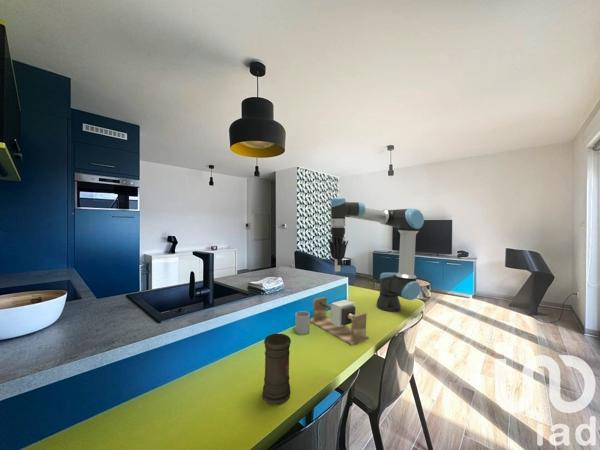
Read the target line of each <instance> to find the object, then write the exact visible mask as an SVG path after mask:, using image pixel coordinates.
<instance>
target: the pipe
mask: <svg viewBox="0 0 600 450" xmlns="http://www.w3.org/2000/svg"><path fill="white" fill-rule="evenodd" d="M320 305H321V306H323V307H325V308H326V310H330V311H331V304H330V303H325V302H322V301H321V302H320ZM352 316H353V314H352V313H347V318H348V319H351V320H352Z"/></svg>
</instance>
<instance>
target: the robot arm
mask: <svg viewBox="0 0 600 450" xmlns="http://www.w3.org/2000/svg"><path fill="white" fill-rule="evenodd" d="M330 201H331V202H330V226H331V227H330V234H331V236H330V239H328V240H327V241H328V243H329V250H330V257H331V258H333V265H334V272H336V273H337V272H341V266H342V260H343V259H345V257H346V250H347V246H348V244H349V240H346V239H345V234H346V228H345V227H346V218H349V219H350V218H351V219H358V220H362V221H370V222H375V223H379V224H381V225H383V226H384V225H385V226H387V227H388V226H389V227H392V228H397V232H399V235H400V236H399V237H400V238H399V253H398V255H399V257H398V259H399V260H398V272H382V273H381V274H380V275H379V295H378V299H377V301H376V308H378V309H380V310H381V311H386V312H393V313H395V312H400V311H402V304H401V303H400V302H401V301H400V298H402V299H404V300H408V301H412V300H415V299H417V297H419V295H420V293H421V288H422V287H421V285H420V282H418V281H417V276H416V275H415V262H416V261H415V259H416V239H417V237H416V236H417V234H418V233H419V232H420V229H421V228H422V227H423V225H424V224H425V218H424V215H423V214H424V213H422V212H421V211H420V209H417V208H401V209H399V208H397V209H374V208H369V207H366V206H365V203H363V202H355V201H353V202H351V201H350V202H349V201H346V198H345V197H333V198H331V199H330ZM399 297H400V298H399Z"/></svg>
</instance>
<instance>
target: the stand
mask: <svg viewBox="0 0 600 450" xmlns="http://www.w3.org/2000/svg"><path fill="white" fill-rule="evenodd" d="M327 298H328V297H326V296H322V297H317V298H314V299H313V307H312V308H313V310H312V315H313V316H312V319H311V320H310V323H311V324H313V325H314V326H316V327H318V328H320V329H321V330H323V331H325V332H326V333H328V334H329V335H332V336H333V337H335V338H337V339H339V340H340V341H341V342H342V341H343V342H344V343H345V344H348V345H349V346H354V345H357V344H359V343H361V342H364V341H366V340H369V336H368V335H367V313H365V312H360V313H357V314H356V313H355V315H353V316H352V323H351V327H349V326H348V325H345V326H342V327H338V326H336V325H334V324H332V323H331V316H330V317H329V316H327V308H325V307H323V306H321V305H320V302H321V301H322V302H325V303H327V300H328V299H327ZM327 304H328V303H327Z"/></svg>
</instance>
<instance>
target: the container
mask: <svg viewBox="0 0 600 450" xmlns="http://www.w3.org/2000/svg"><path fill="white" fill-rule="evenodd" d="M291 342H292V339H291V338H290V336H289V335H287V334H285V333H272V334H269V335H267V336H266V337H265V338H264V340H263V344H264V349H265V351H264V355H265V356H264V357H265V358H264V360H265V361H264V377H263V381H264V383H263V387H262V398H263V400H264V401H265V403H267V404H269V405H271V406H277V405H282V404H284V403H285V402H287V401H288V400H289V399H290V396H291V385H290V353H291V352H290V346H291Z"/></svg>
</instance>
